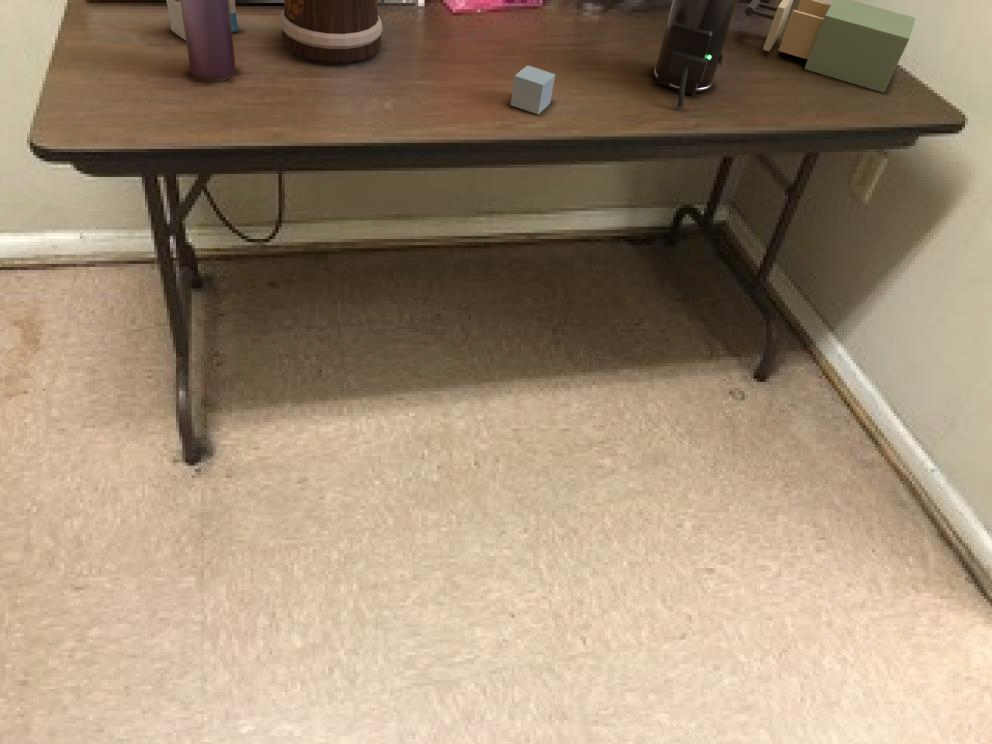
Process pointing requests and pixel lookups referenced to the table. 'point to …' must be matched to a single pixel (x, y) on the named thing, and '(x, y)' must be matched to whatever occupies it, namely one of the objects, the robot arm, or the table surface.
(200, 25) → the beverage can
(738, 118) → the table surface
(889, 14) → the cabinet
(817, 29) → the drawer
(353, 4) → the mug
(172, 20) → the ink box
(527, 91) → the block
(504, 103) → the table surface
